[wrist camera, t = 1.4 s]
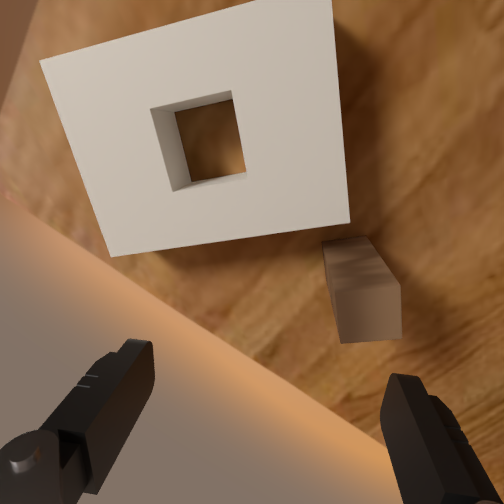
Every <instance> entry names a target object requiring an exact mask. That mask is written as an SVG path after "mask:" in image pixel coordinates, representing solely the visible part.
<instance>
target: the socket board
mask: <svg viewBox="0 0 504 504" xmlns="http://www.w3.org/2000/svg"><path fill="white" fill-rule="evenodd" d="M39 62H40V64H41V67H42V70H43V73H44V75H45V78H46V81H47V84H48V86H49V89H50V92H51V94H52V97H53V100H54V103H55V105H56V108H57V111H58V114H59V116H60V119H61V122H62V125H63V127H64V130H65V133H66V135H67V138H68V141H69V144H70V146H71V149H72V152H73V155H74V157H75V160H76V163H77V166H78V168H79V171H80V174H81V176H82V179H83V182H84V185H85V187H86V190H87V193H88V196H89V198H90V201H91V204H92V207H93V209H94V212H95V215H96V217H97V220H98V223H99V226H100V228H101V231H102V234H103V237H104V239H105V242H106V245H107V248H108V250H109V253H110V256H111V257H115V256H122V255H129V254H136V253H143V252H150V251H157V250H164V249H171V248H178V247H184V246H191V245H198V244H205V243H212V242H219V241H226V240H233V239H240V238H247V237H254V236H261V235H268V234H275V233H282V232H289V231H296V230H303V229H310V228H317V227H324V226H331V225H337V224H344V223H350V214H349V202H348V191H347V179H346V167H345V155H344V143H343V131H342V119H341V108H340V96H339V84H338V72H337V60H336V48H335V37H334V25H333V13H332V1H331V0H256V1H252V2H248V3H245V4H241V5H238V6H234V7H230V8H227V9H223V10H220V11H216V12H212V13H209V14H205V15H202V16H198V17H194V18H191V19H187V20H184V21H180V22H177V23H173V24H169V25H166V26H162V27H159V28H155V29H151V30H148V31H144V32H141V33H137V34H133V35H130V36H126V37H123V38H119V39H115V40H112V41H108V42H105V43H101V44H98V45H94V46H90V47H87V48H83V49H80V50H76V51H72V52H69V53H65V54H62V55H58V56H54V57H51V58H47V59H44V60H40V61H39ZM230 99H233V102H234V108H235V113H236V118H237V123H238V129H239V134H240V139H241V145H242V150H243V155H244V160H245V166H246V171H247V172H244V173H239V174H233V175H228V176H222V177H217V178H211V179H206V180H200V181H195V182H191V178H190V174H189V170H188V166H187V162H186V158H185V154H184V150H183V146H182V142H181V138H180V134H179V130H178V126H177V122H176V118H175V114H174V112H177V111H182V110H186V109H190V108H195V107H199V106H204V105H208V104H213V103H217V102H222V101H226V100H230Z"/></svg>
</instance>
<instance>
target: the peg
mask: <svg viewBox="0 0 504 504" xmlns="http://www.w3.org/2000/svg"><path fill="white" fill-rule="evenodd" d="M322 248H323V256H324V265H325V273H326V281H327V285H328V289H329V294H330V298H331V303H332V307H333V311H334V316H335V320H336V325H337V329H338V334H339V338H340V342H341V344H343V343H356V342H369V341H381V340H394V339H402V315H401V286H400V284H399V283H398V281H397V280H396V278H395V277H394V275H393V274H392V273H391V271H390V270H389V268H388V267H387V265H386V264H385V262H384V261H383V259H382V258H381V257H380V255H379V254H378V252H377V251H376V249H375V248H374V246H373V245H372V244H371V242H370V241H369V239H368V238H367V236H359V237H352V238H345V239H337V240H330V241H322Z"/></svg>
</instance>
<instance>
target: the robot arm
mask: <svg viewBox="0 0 504 504" xmlns="http://www.w3.org/2000/svg"><path fill="white" fill-rule="evenodd" d="M154 381H155V371H154V357H153V345H152V342H151V341H145V340H137V339H128V340H127V341H126V342H125V343H124V344H123V346H122V347H121V348H120V349H119V351H118V352H117V353H115V352H110V353H108V354H106V355H105V356H104V357H102V358H100V359H99V360H97V361H96V362H95V363H94V364H93V365H92V367H91V368H90V369H89V370H88V371H87V373H86V375H85V376H83V377H82V378H81V380H80V381H79V382H78V383H77V386H76V387H74V388H73V389H72V390H71V391H70V393H69V394H68V395H67V396H66V397H65V399H64V400H63V401H62V402H61V403H60V405H59V406H58V407H57V408H56V409H55V410H54V412H53V413H52V414H51V415H50V416H49V417H48V419H47V420H46V421H45V422H44V423H43V425H42V426H41V427H40V428H39V429H38V430H33V431H30V432H26V433H24V434H21V435H19V436H17V437H15V438H14V439H12V440H11V441H10V442H8V443H7V444H5V445H4V446H3V447H2V448H1V449H0V504H77V502H78V500H79V498H80V496H81V495H82V493H83V492H84V493H90V494H95V495H97V494H98V492H99V490H100V488H101V486H102V484H103V483H104V481H105V479H106V477H107V475H108V473H109V471H110V469H111V468H112V466H113V464H114V462H115V460H116V458H117V456H118V455H119V453H120V451H121V449H122V447H123V445H124V443H125V441H126V440H127V438H128V436H129V434H130V432H131V430H132V429H133V427H134V425H135V423H136V421H137V419H138V417H139V415H140V414H141V412H142V410H143V408H144V406H145V404H146V402H147V400H148V399H149V397H150V395H151V393H152V390H153V386H154ZM380 423H381V429H382V432H383V436H384V439H385V442H386V446H387V449H388V453H389V456H390V459H391V463H392V466H393V470H394V473H395V476H396V480H397V483H398V487H399V490H400V493H401V497H402V500H403V503H404V504H503V502H502V500H501V499H500V497H499V495H498V493H497V491H496V490H495V488H494V486H493V484H492V483H491V481H490V479H489V477H488V475H487V474H486V472H485V470H484V468H483V467H482V465H481V463H480V461H479V459H478V458H477V456H476V454H475V452H474V450H473V449H472V447H471V445H469V444H468V440H467V438H466V436H465V434H464V433H463V431H461V427H460V425H459V424H458V422H457V420H456V418H455V417H454V415H453V413H452V411H451V410H450V409H449V408H448V407H447V406H446V405H445V404H444V403H443V402H442V401H441V400H440V399H439V398H438V397H437V396H432V395H428V393H427V391H426V389H425V387H424V385H423V383H422V382H421V380H420V378H419V377H418V376H412V375H404V374H396V373H392V374H391V375H390V377H389V381H388V384H387V388H386V391H385V395H384V399H383V402H382V406H381V411H380Z"/></svg>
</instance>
